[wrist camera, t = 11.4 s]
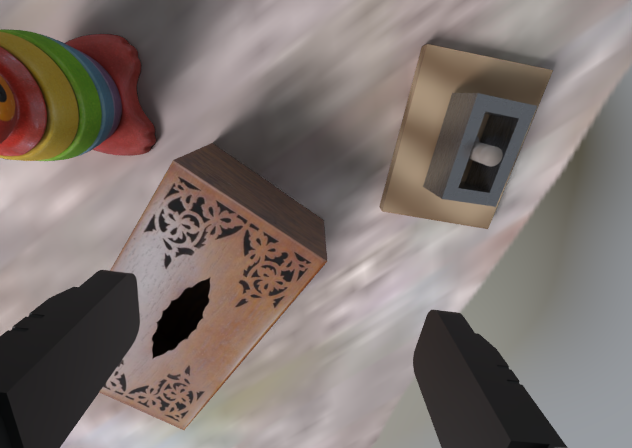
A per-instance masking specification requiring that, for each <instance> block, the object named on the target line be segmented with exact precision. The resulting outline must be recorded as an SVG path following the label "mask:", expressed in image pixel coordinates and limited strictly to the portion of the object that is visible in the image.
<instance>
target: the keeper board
mask: <svg viewBox="0 0 632 448" xmlns="http://www.w3.org/2000/svg"><path fill="white" fill-rule="evenodd" d="M552 72H553V70H549V69H545V68H540V67H535V66H530V65H526V64H521V63H516V62H511V61H506V60H502V59H497V58H492V57H487V56H482V55H478V54H473V53H468V52H463V51H459V50H454V49H449V48H444V47H439V46H435V45H430V44H426V45H424V46H422V49H421V52H420V56H419V60H418V64H417V67H416V71H415V75H414V79H413V82H412V86H411V90H410V94H409V98H408V101H407V105H406V109H405V113H404V116H403V120H402V124H401V128H400V131H399V135H398V139H397V143H396V147H395V150H394V154H393V158H392V162H391V165H390V169H389V173H388V177H387V180H386V184H385V188H384V192H383V195H382V199H381V203H380V209H381V210H382V211H383V212H389V213H395V214H401V215H407V216H413V217H419V218H425V219H431V220H437V221H443V222H449V223H455V224H461V225H467V226H473V227H479V228H485V229H488V228H489V225H490V223H491V220H492V218H493V216H494V213H495V211H496V208H497V206H498V203H499V201H500V198H501V196H502V194H503V191H504V189H505V186H506V184H507V181H508V179H509V177H510V174H511V172H512V169H513V167H514V164H515V162H516V159H517V157H518V155H519V152H520V150H521V147H522V145H523V142H524V140H525V138H524V140H523V142H522V145H521V147H520V150H519V152H518V155H517V157H516V159H515V162H514V164H513V167H512V169H511V172H510V174H509V177H508V179H507V181H506V184H505V186H504V189H503V191H502V194H501V196H500V198H499V201H498V203H497V206H496V207H493V206H486V205H480V204H473V203H466V202H459V201H452V200H445V199H441V198H440V197H438V196H436V195H435V194H433V193H432V192H430V191H429V190H427V189H426V188H424V187H423V185H424V182H425V178H426V175H427V172H428V169H429V166H430V162H431V159H432V156H433V153H434V150H435V146H436V143H437V140H438V137H439V134H440V130H441V127H442V124H443V121H444V118H445V114H446V111H447V108H448V105H449V102H450V99H451V95H452V93H480V94H485V95H489V96H494V97H498V98H503V99H508V100H512V101H517V102H521V103H526V104H531V105H535V106H537V108H538V106H539V103H540V101H541V98H542V96H543V94H544V91H545V89H546V86H547V84H548V81H549V79H550V77H551V74H552ZM537 108H536V111H537ZM536 111H535V113H536ZM535 113H534V116H535ZM534 116H533V118H534ZM488 118H489V115H487V114H484V117H483V120H482V123H481V126H480V128H479V131H478V134H477V137H476V140H475V142H474V145H473V148H472V151H471V154H470V157H469V159H468V162H467V165H466V168H465V171H464V173H463V176H462V179H461V181H466V179H467V176H468V173H469V170H470V168H471V165H472V162H473V160H474V161H476V162H479V163H481V164H484V165H487V166H495V165H497V164H498V163H499V162H500V161H501V159H502V156H503V153H502V150H501V149H500V148H498V147H495V146H491V145H487V144H484V143H480V140H481V137H482V134H483V132H484V129H485V126H486V123H487V121H488ZM533 118H532V120H533ZM531 123H532V121H531ZM531 123H530V125H531ZM530 125H529V128H530ZM529 128H528V130H529ZM528 130H527V133H528ZM527 133H526V135H527ZM526 135H525V137H526Z"/></svg>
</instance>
